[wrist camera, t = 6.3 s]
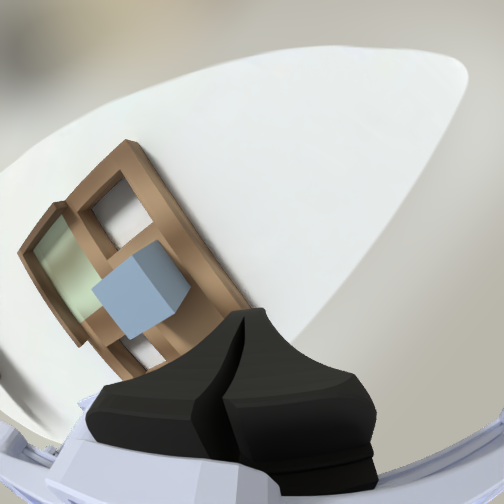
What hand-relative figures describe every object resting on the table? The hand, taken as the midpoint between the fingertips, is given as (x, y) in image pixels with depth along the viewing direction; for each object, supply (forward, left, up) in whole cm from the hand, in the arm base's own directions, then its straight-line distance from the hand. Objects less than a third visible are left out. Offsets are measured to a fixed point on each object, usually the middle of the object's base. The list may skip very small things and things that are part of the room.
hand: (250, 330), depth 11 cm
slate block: (+3, +6, -8) cm, 10 cm away
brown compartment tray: (+4, +9, -10) cm, 14 cm away
